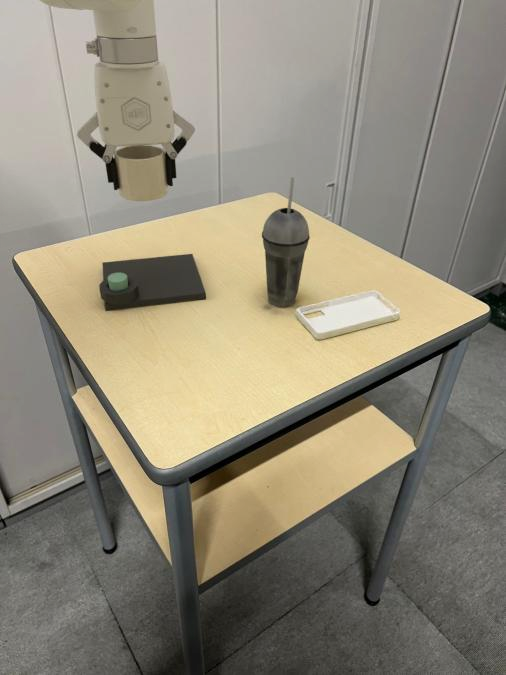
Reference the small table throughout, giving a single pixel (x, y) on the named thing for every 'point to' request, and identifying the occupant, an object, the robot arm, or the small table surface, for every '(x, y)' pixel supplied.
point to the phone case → (347, 314)
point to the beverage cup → (284, 253)
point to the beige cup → (141, 172)
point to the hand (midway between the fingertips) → (143, 184)
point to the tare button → (117, 281)
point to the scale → (153, 282)
